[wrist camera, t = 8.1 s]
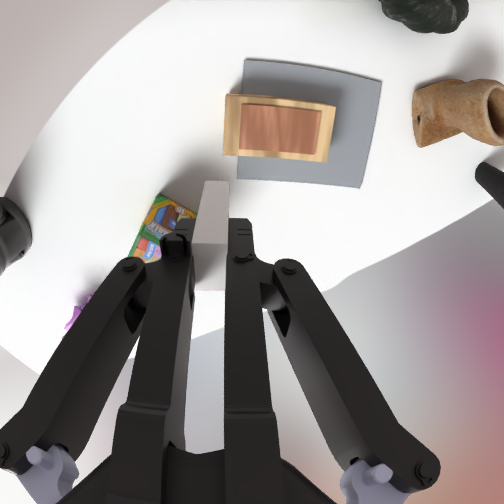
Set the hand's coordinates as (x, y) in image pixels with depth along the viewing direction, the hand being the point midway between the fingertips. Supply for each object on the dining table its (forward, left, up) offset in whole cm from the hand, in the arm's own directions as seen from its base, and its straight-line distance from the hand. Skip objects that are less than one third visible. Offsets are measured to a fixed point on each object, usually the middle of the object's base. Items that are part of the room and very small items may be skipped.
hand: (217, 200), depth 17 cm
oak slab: (-1, +1, -22) cm, 22 cm away
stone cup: (+33, +10, -25) cm, 43 cm away
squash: (+23, +27, -25) cm, 43 cm away
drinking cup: (+50, 0, -25) cm, 56 cm away
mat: (+11, +1, -24) cm, 27 cm away
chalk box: (-10, -17, -25) cm, 32 cm away
